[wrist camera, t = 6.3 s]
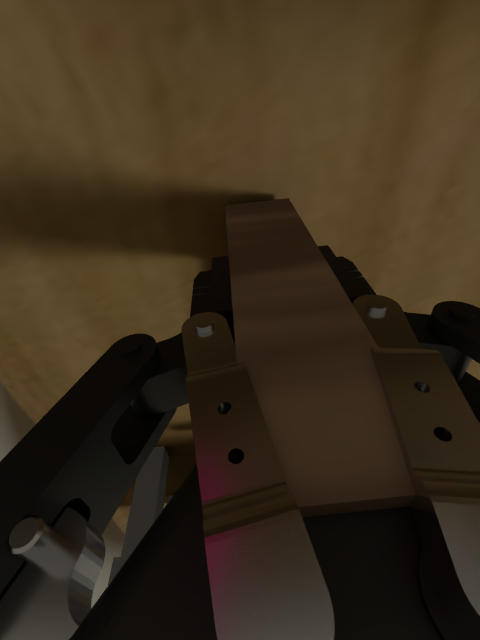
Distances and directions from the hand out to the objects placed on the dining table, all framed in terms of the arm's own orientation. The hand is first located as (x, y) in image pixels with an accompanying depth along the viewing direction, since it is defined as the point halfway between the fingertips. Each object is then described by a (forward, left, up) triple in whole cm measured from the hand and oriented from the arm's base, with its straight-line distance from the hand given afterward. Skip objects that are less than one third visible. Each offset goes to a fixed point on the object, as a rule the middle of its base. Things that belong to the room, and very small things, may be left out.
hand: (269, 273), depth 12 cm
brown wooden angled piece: (+8, 0, -4) cm, 9 cm away
